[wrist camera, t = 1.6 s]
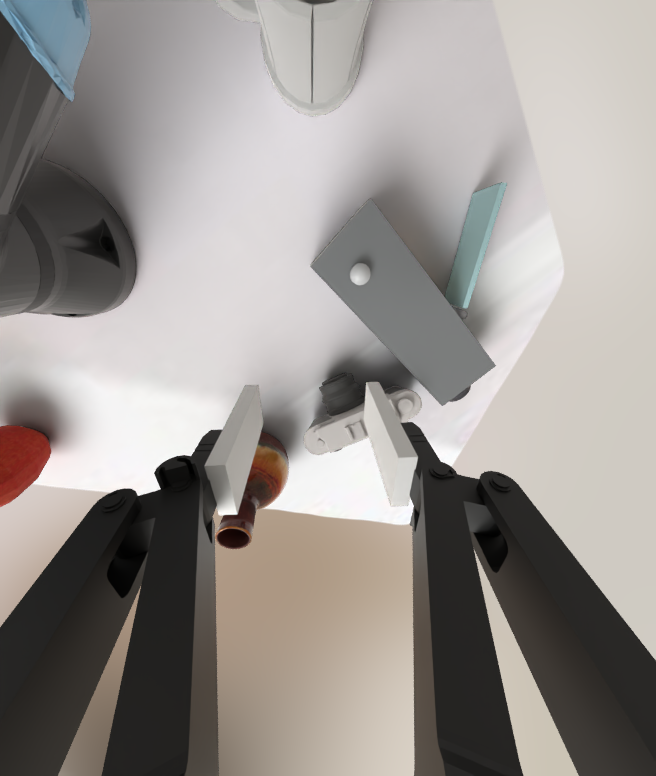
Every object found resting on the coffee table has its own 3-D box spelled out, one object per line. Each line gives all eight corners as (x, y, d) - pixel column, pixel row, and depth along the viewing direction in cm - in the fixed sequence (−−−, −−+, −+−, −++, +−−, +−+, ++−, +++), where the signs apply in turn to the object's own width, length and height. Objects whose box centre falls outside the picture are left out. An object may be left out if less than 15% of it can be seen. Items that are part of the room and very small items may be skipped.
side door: (471, 192, 29) (499, 182, 24) (481, 194, 29) (511, 183, 24) (439, 311, 34) (457, 319, 30) (447, 311, 35) (467, 320, 30)
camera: (412, 408, 40) (435, 421, 30) (318, 446, 42) (309, 471, 31) (389, 353, 40) (403, 347, 30) (295, 394, 41) (278, 402, 31)
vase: (260, 411, 40) (234, 491, 27) (304, 454, 45) (300, 542, 31) (209, 445, 43) (161, 534, 29) (255, 483, 47) (232, 576, 34)
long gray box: (310, 264, 31) (310, 266, 25) (361, 206, 29) (374, 194, 23) (430, 392, 40) (451, 416, 34) (476, 356, 38) (507, 375, 32)
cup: (289, 153, 27) (274, 85, 16) (225, 40, 23) (149, -147, 12) (378, 73, 24) (431, -68, 14) (323, -66, 21) (336, -411, 10)
